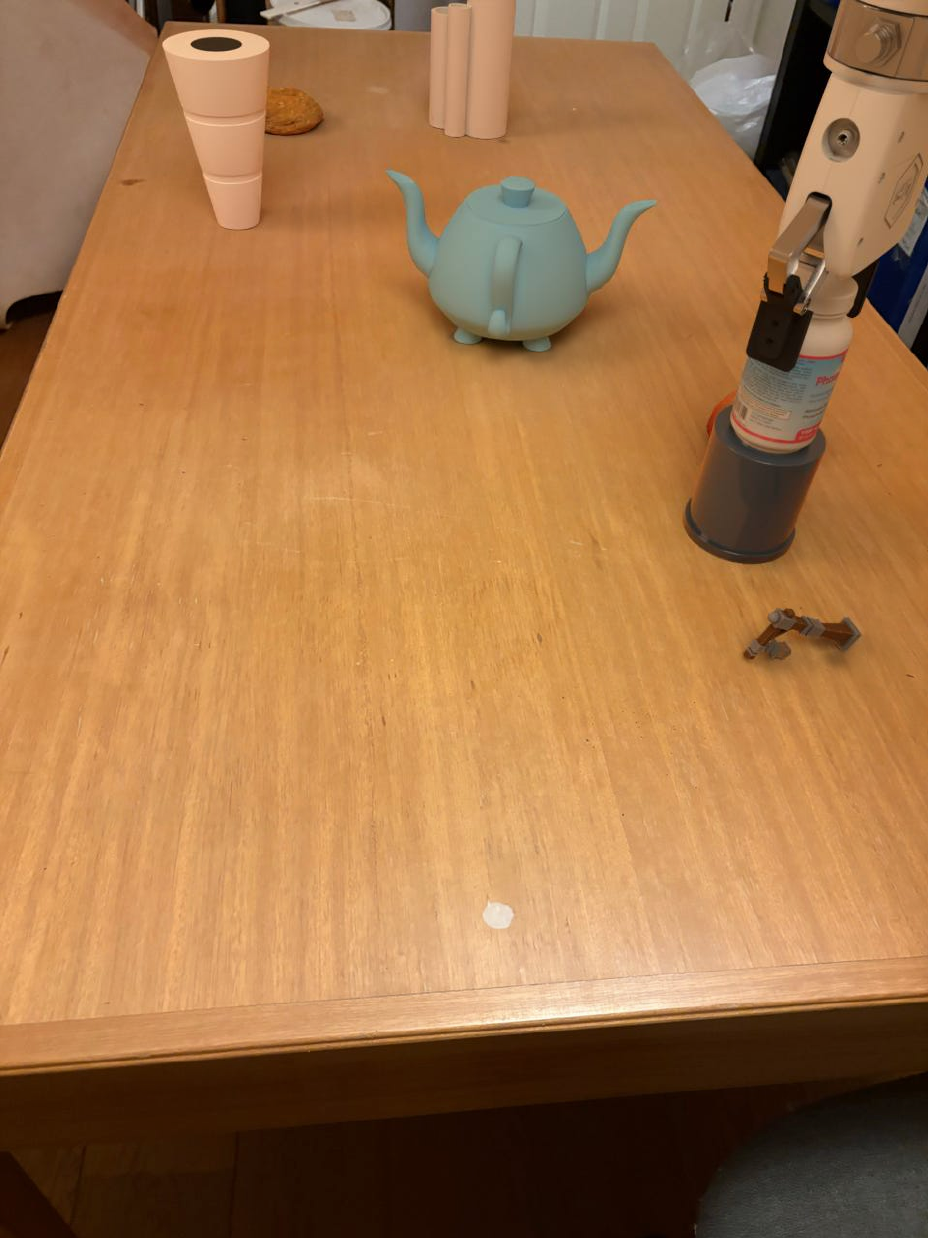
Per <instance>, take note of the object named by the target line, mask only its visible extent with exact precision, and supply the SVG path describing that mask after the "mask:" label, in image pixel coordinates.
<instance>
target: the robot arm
mask: <svg viewBox="0 0 928 1238" xmlns="http://www.w3.org/2000/svg"><path fill="white" fill-rule="evenodd" d="M828 39H829V40H828V44H827V47H826V51H825V53H824V57H823V65H824V67H826V69H828V70H829V71H830V72H832V73H831V74H830V77H829V79H828V81H827V84H826V87H825V89H824V92H823V94H822V95H821V96H822V97H821V99H820V102H819V104H818V107H817V109H816V113H815V115H814V117H813V121H812V123H811V126H810V129H809V132H808V135H807V137H806V140H805V143H804V146H803V148H802V151H801V154H800V156H799V160H798V162H797V165H796V169H795V171H794V175H793V178H792V180H791V184H790V187H789V190H788V194H787V197H786V200H785V203H784V207H783V210H782V213H781V217H780V222H779V225H778V228H777V229H778V230H777V233H776V238H775V243H774V244H773V245H772V247H771V248H770V250H769V252H768V255H767V268H766V269H767V270H766V271H765V273H764V275H763V277H762V278H763V279H762V282H763V284H762V289H761V291H760V295H759V300H760V301H759V304H758V307H757V311H756V314H755V317H754V321H753V325H752V329H751V332H750V334H749V339H748V342H747V345H746V349H745V353H746V355H747V357H748V356H749V357H750V358H753V359H755V360H757V361H760V362H762V363H764V364H767V365H769V366H772V367H774V368H776V369H779V370H781V371H783V372H789V371H791V370H792V369H793V368H794V367H795V365H796V363H797V360H798V357H799V354H800V351H801V348H802V345H803V342H804V339H805V336H806V333H807V331H808V328H809V325H810V322H811V319H812V316H813V313H814V312H813V311H810V310H808V308H809V307H810V305H811V303H812V301H813V300H814V298H815V296H816V294H817V293H818V291H819V289H820V287H821V286H822V284H823V282H824V280H825V279H826V277H827V275H828V273H829V272H832V273H835V274H836V278H838V279H841V280H843V279H847V278H849V277H852V278H853V279H854V280H855V281H856V283H857V285H858V291H857V294H856V297H855V300H854V304H853V307H852V308H851V309H850V311H849V312H848V313H847V314H846V315H847V317H848V318H849V319H855V318H857V317H858V316H859V315H860V314H861V313H862V310H863V308H864V304H865V302H866V299H867V297H868V295H869V292H870V289H871V286H872V284H873V281H874V279H875V276H876V274H877V271H878V268H879V266H880V262H881V260H878V259H880V257H882V256H883V255H885V254H886V253H887V252H888V251H890V250H891V249H892V248H893V247H895V246H896V244H898V243H899V242H900V241H902V238H904V236H905V235H906V234H907V232H908V230H909V228H910V226H911V223H912V221H913V217H914V214H915V212H916V210H917V207H918V203H919V200H920V198H921V196H922V193H923V190H924V186H925V183H926V181H927V177H928V0H840V2H839V5H838V8H837V12H836V16H835V19H834V22H833V26H832V30H831V33H830V36H829V38H828ZM807 249H811V250H814V251H816V252H819V253H822V254H823V257H819V256H816V255H814V254H811V253H808V252H805V251H806V250H807ZM797 267H799V268H802V269H804V270H807V271H810V272H812V274H811V276H810V278H809V279H808V281H807V283H806V285H805V287H804V288H803V289H802V285H801V281H800V277H799V276H797V275H795V271H796V270H797Z"/></svg>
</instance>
